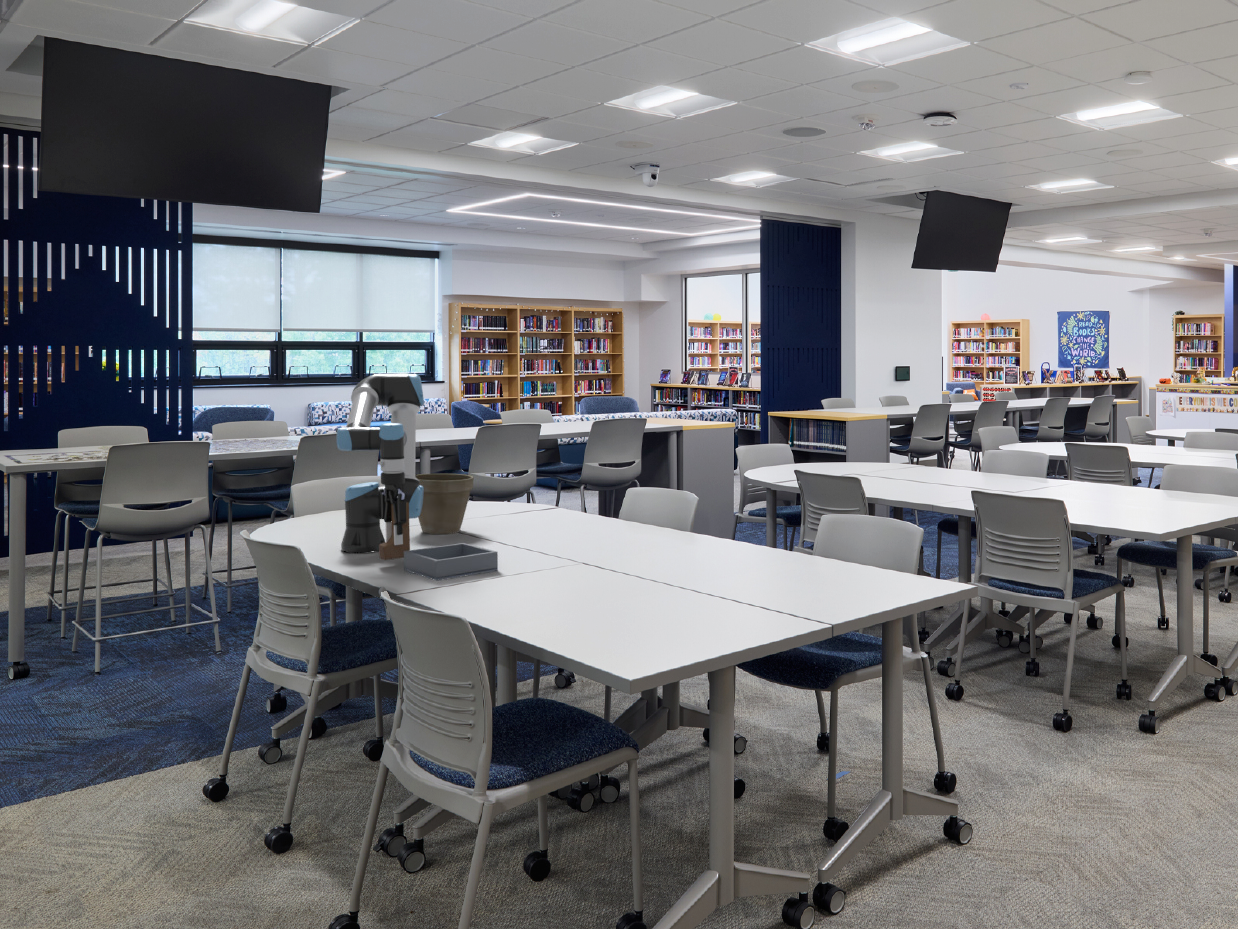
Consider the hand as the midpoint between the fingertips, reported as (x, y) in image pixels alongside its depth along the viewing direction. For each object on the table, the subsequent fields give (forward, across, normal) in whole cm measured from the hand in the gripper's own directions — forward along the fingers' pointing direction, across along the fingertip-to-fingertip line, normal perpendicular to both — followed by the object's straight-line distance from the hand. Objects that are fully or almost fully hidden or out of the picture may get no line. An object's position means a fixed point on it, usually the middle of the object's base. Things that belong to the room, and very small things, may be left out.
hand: (394, 543), depth 309 cm
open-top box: (+7, +18, +10) cm, 22 cm away
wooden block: (+5, 0, 0) cm, 5 cm away
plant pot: (+9, -46, +45) cm, 64 cm away
